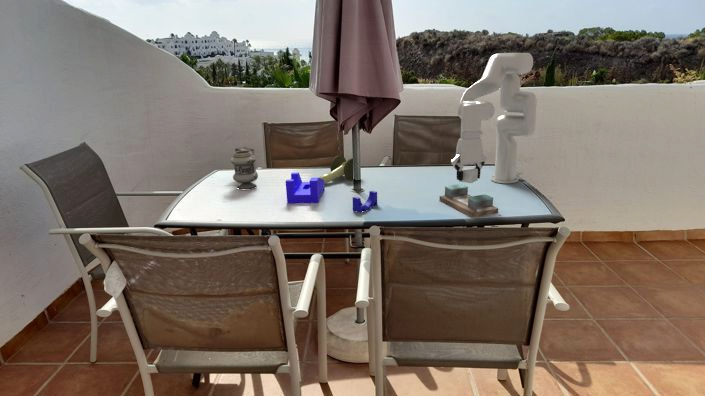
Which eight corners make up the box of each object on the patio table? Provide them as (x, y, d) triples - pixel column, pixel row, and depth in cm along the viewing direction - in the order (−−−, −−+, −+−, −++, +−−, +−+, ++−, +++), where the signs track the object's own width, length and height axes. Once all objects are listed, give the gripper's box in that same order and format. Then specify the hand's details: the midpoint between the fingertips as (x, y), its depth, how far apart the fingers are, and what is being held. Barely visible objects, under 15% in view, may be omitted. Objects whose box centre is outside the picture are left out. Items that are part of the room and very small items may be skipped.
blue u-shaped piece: (361, 213, 189) (360, 199, 187) (352, 211, 192) (352, 197, 190) (380, 206, 197) (379, 192, 195) (372, 203, 200) (371, 190, 198)
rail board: (463, 196, 204) (463, 182, 202) (498, 213, 183) (499, 197, 181) (439, 200, 200) (439, 186, 198) (472, 217, 179) (472, 202, 177)
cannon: (326, 188, 225) (325, 165, 221) (311, 184, 233) (309, 162, 229) (363, 177, 241) (362, 156, 237) (347, 174, 249) (346, 153, 246)
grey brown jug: (237, 178, 248) (234, 148, 243) (248, 175, 252) (245, 146, 247) (246, 181, 242) (243, 150, 237) (257, 178, 246) (254, 148, 241)
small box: (464, 178, 192) (465, 167, 190) (477, 180, 188) (478, 168, 187) (458, 181, 188) (458, 169, 186) (471, 183, 184) (472, 171, 183)
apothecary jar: (233, 185, 235) (229, 150, 229) (257, 182, 238) (253, 148, 233) (235, 192, 224) (230, 155, 218) (260, 189, 227) (256, 152, 222)
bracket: (318, 203, 203) (316, 180, 200) (287, 204, 204) (285, 181, 201) (324, 190, 223) (323, 168, 220) (296, 190, 224) (294, 169, 221)
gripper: (483, 132, 189) (480, 174, 194) (446, 135, 183) (444, 179, 188) (494, 134, 182) (492, 178, 187) (456, 138, 176) (454, 183, 181)
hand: (468, 178), depth 188 cm, fingers closed on small box, 7 cm apart
